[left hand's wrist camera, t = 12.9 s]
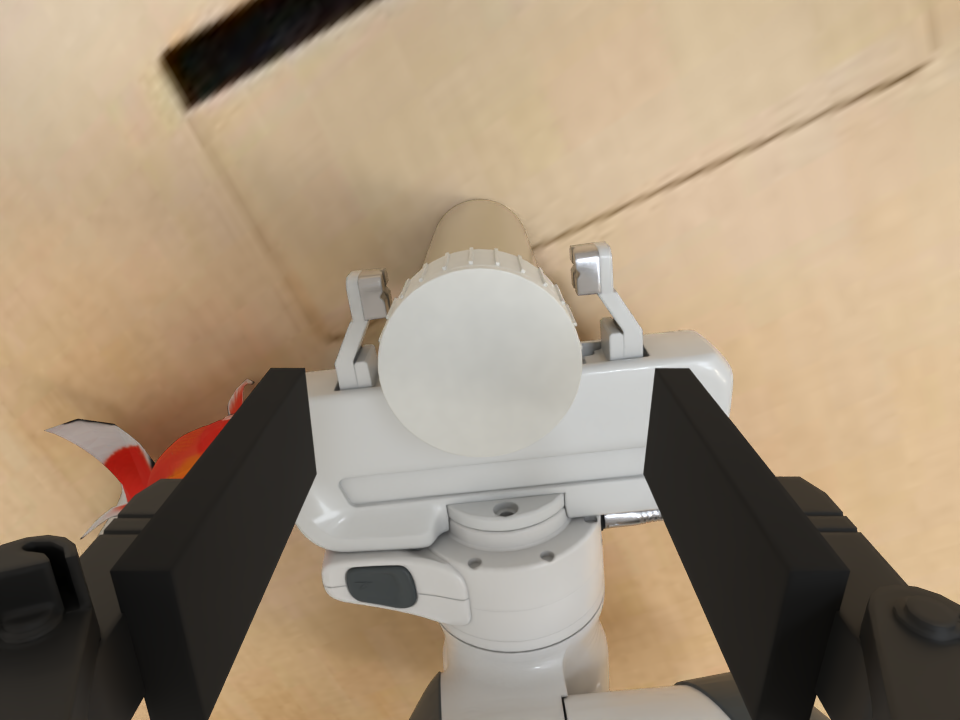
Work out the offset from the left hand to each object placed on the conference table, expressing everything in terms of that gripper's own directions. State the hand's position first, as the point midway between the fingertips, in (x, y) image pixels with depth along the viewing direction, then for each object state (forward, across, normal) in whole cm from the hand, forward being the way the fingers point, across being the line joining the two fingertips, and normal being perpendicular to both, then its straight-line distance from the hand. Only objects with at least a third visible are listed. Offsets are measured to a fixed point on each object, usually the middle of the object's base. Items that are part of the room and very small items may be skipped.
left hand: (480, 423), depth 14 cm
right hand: (+13, 0, -1) cm, 13 cm away
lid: (+3, 0, 0) cm, 3 cm away
